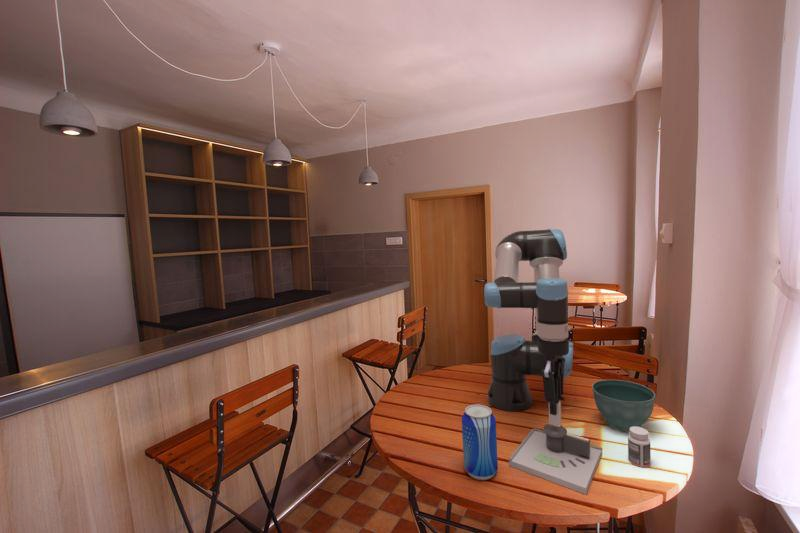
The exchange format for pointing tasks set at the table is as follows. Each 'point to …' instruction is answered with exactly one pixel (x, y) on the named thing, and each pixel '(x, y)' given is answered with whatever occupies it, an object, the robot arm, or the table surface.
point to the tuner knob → (565, 441)
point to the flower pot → (623, 403)
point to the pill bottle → (639, 447)
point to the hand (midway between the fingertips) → (555, 424)
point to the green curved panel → (555, 460)
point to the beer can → (479, 442)
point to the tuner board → (564, 476)
